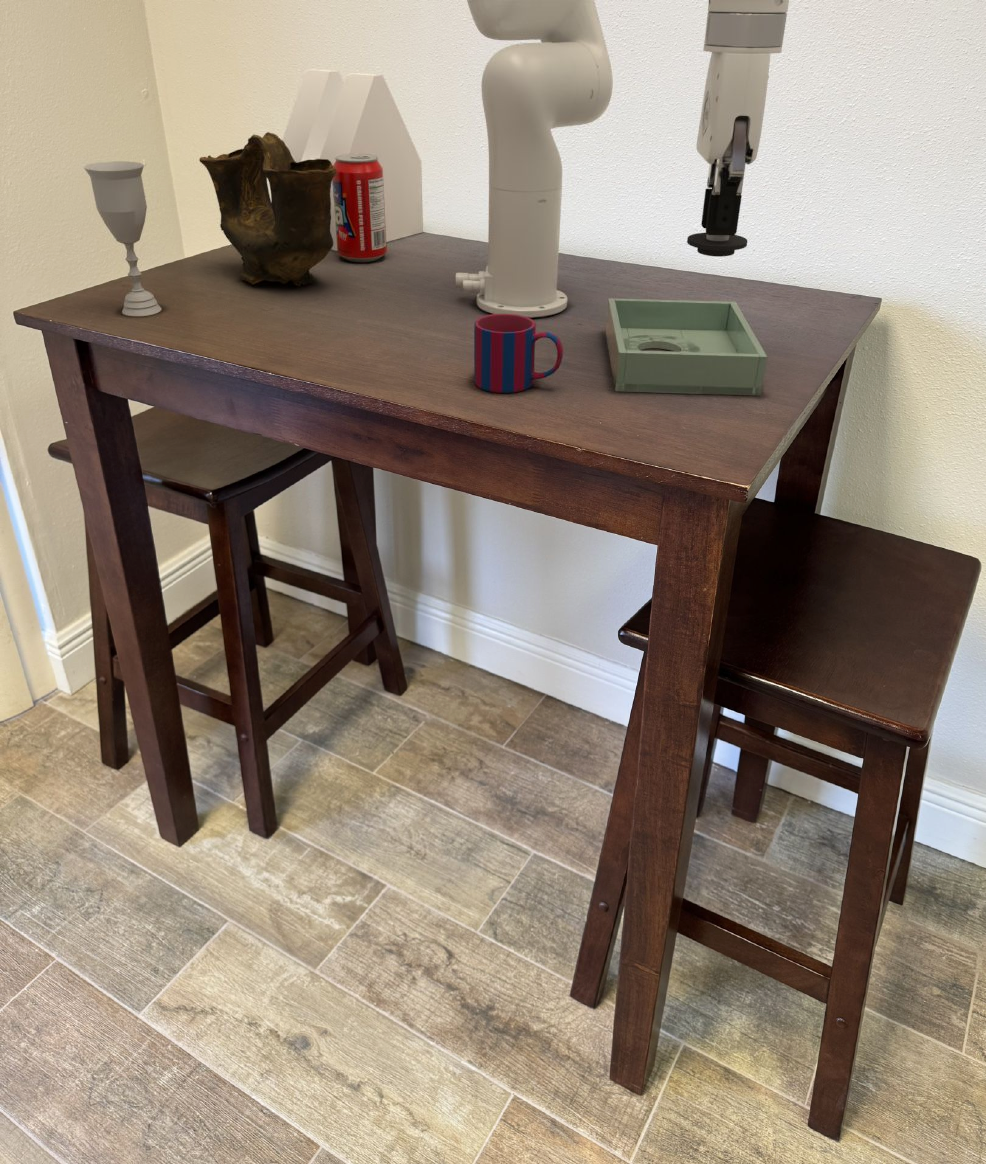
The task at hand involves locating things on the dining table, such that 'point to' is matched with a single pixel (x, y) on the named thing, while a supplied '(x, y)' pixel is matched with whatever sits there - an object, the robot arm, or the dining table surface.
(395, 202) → the white twin peaked block
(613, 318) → the sink
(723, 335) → the sink floor
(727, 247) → the plug
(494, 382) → the mug
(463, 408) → the dining table surface
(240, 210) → the pottery vessel
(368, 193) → the soda can
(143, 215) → the chalice
